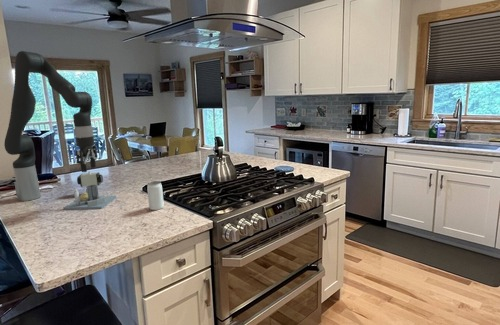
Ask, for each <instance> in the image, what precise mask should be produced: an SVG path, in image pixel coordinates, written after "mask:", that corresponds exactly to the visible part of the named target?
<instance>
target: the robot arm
mask: <svg viewBox="0 0 500 325" xmlns="http://www.w3.org/2000/svg"><path fill="white" fill-rule="evenodd" d="M14 62H15V63H14V86H13V94H12V99H11V105H10V116H9V121H8V128H7V131H6V134H5V138H4V144H3V145H4V149H5V151H6V153H7V154H9V155H11V156H14V155H15V156H16V155H17V156H18V158H16V160H14V161H12V168H13V172H14V178H15V181H14V183H13V184H14V187H15V188H14V189H15V193H16V197H17V201H20V202H27V201H28V202H29V201H33V200H37V199H40V198H41V191H40V184H39V178H38V174H37V173H38V172H37V168H36V151H35V144H34V141H33V139H32V138H31V136H30V135H27V134H23V131H24V128H25V127H26V126H27V124H28V123H29V122H30V121H31V119H32V118H33V116H34V114H35V110H36V102H37V100H36V97H35V94H34V93H33V90H32V89H31V87H30V83H29V82H30V81H29V78H30V73H31V74H32V73H33V74H40V75H42V76H44V77H46V79H47V81H48V84H49V86H50V87H51V88H52V89H53V90H54V91H55V92H56V93H57V94H59V95H60V96H61V97H62V99H63V100H64V102H65V103H66V105H67V106H68V107H71V108H73V109H74V108H76V109H77V108H79V109H78V110H79V111H78V112H76V113H74V114H73V116H72V120H73V124H74V137H75V144H76V145H75V146H76V147H78V148H79V150H75V158H76V164H79V165H80V171H81V172H82V173H86V172H87V171H88V169H87V164H86V163H87V161H88V160H89V164H90V168H93V169H95V168H97V163H96V160H97V158H98V151H97V145H95V137H94V130H93V127H92V119H91V115H92V108H93V98H92V96H91V95H90V93H89V92H87V91H76V86H74V84H72V83H71V82H70V81H69V80H68V79H67V78H65V77H63V76H62V75H61V74H60V73H59V72H58V71H57V70H56V68H54V66H53V65H52V64H51V63H50V62H49V61H48V60H47V59H46V58H45V57H44V56H43V55H42V54H40V53H38V52H33V51H32V52H31V51H26V50H21V51H18V53H17V54H16V56H15V61H14ZM87 173H88V172H87Z"/></svg>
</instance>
